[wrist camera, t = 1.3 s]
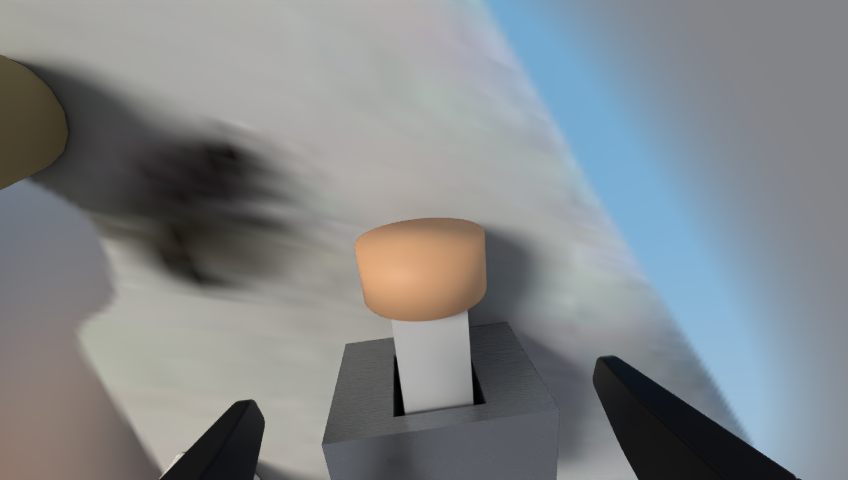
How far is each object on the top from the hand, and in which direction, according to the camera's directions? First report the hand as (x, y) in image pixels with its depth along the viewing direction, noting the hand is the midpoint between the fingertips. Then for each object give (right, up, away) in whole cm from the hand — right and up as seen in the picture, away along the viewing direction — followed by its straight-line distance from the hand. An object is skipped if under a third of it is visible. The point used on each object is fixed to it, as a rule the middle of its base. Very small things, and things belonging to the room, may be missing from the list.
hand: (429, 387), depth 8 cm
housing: (+1, -8, +17) cm, 18 cm away
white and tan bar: (0, -1, +13) cm, 13 cm away
